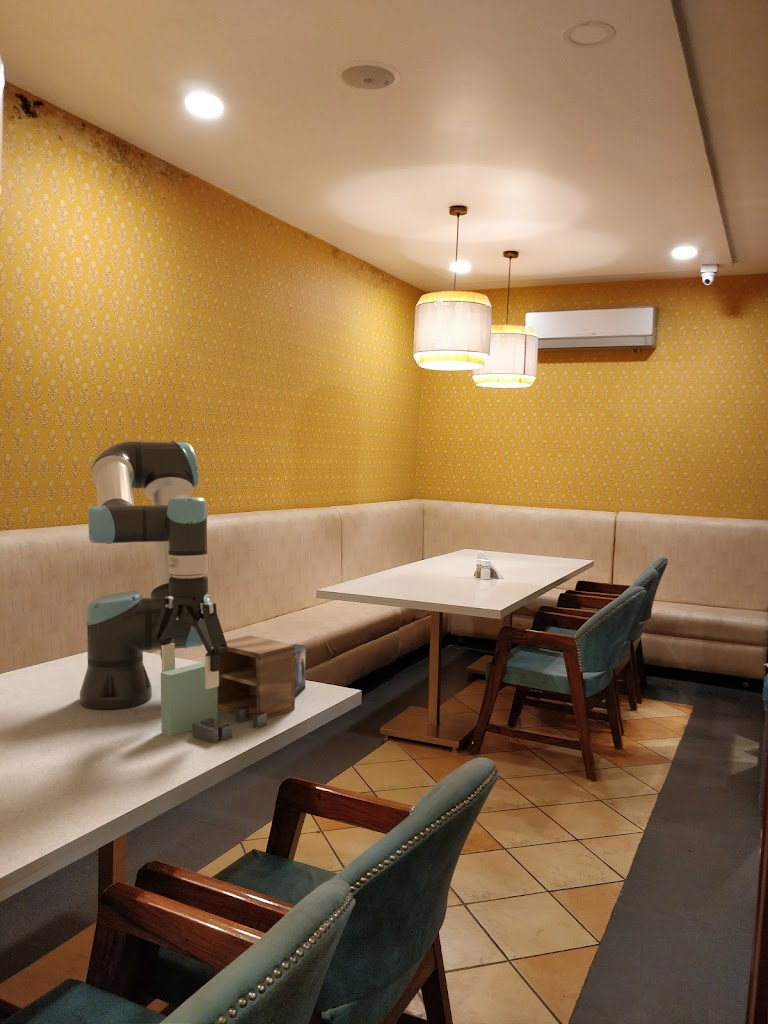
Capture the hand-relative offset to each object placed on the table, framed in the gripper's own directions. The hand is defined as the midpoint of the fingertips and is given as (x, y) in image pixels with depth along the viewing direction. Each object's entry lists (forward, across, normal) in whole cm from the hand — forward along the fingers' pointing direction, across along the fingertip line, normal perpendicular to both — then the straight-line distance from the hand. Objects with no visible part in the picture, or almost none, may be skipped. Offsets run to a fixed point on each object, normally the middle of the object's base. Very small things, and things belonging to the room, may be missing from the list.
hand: (189, 681), depth 161 cm
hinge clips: (+9, +7, +4) cm, 13 cm away
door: (+9, 0, 0) cm, 9 cm away
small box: (+9, -2, +28) cm, 30 cm away
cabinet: (+9, +1, +16) cm, 19 cm away
